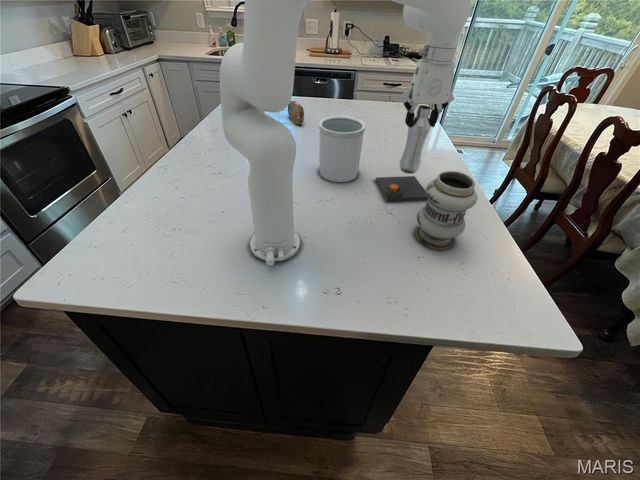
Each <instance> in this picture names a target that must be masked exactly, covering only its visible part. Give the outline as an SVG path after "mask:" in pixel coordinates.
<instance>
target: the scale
mask: <svg viewBox="0 0 640 480" xmlns="http://www.w3.org/2000/svg"><path fill="white" fill-rule="evenodd" d="M374 181H375V183H376V184H377V187H378V189H379V192H380V193H381V194H382V196H383V198H384V200H385V202H386V203H393V202H394V203H395V202H417V201H418V202H419V201H427V200H428V197H427V195H426V189H425V188H424V187H423V185H422V184H421V183H420V182H419V180H418V179H417V178H416V176H415V175H410V176H409V175H408V176H381V177H380V176H379V177H375V180H374ZM391 184H396V185H398V191H397V192H391V191H389V189H390V185H391Z"/></svg>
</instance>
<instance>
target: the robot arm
mask: <svg viewBox="0 0 640 480" xmlns="http://www.w3.org/2000/svg"><path fill="white" fill-rule="evenodd" d="M309 1H310V0H244V8H243V33H242V34H243V38H242V40H243V41H242V42H238V43H235V44H233V45H231V46H230V47H229V48H228V49H227V50H226V51H225V53H224V54H223V57H222V59H221V63H220V67H219V92H220V93H219V94H220V95H219V96H220V108H221V109H220V110H221V122H222V131H223V134H224V137H225V139H226V141H227V142H228V144H229V145H230V146H231V147H232V148H233V149H234V150H235V151H237V152H238V153H239V154H240V155H242V157H244V159H246V160H247V161H248V164H249V173H248V177H247V188H248V196H249V201H250V208H251V215H252V220H253V221H252V223H253V229H254V234H253V235H252V236H251V238H250V241H249V246H250V247H249V248H250V251H251V253H252V255H254V256H255V257H256V258H258V259H260V260H263V261H265V264H266V266H269V267H272V266H274V265H275V262H282V261H285V260H288V259H290V258H291V257H293V256H294V255H296V254H297V253H298V251H299V250H300V246H301V237H300V236H299V235H298V232H296V231H295V229H294V193H293V174H294V166H295V160H296V156H297V143H296V140H295V136H294V135H293V133H292V132H291V130H290V129H289V128H288V127H287V126H286V125H284V124H283V123H282V122H280V121H279V120H278V119H276V118H274V117H273V116H270V115H269V114H266V113H265V112H267V113H271V114H276V113H280V112H282V111H284V110H286V109H287V108H288V105H289V103H290V101H292V97H293V93H294V84H295V74H296V73H295V72H296V58H297V45H298V35H299V27H300V22H301V18H302V15H303V13H304V10H305V9H306V6H307V5H308V3H309ZM391 1H392V2H393V3H396V4H400V5H403V10H402V19H403V22H404V23H405V25H406V26H407V27H408V28H410V29H411V30H415V31H419V32H426V33H427V36H426V41H425V44H424V46H423V48H420V49H419V50H418V56H421V58H419V60H418V63H417V64H416V67H415V70H414V73H413V76H412V79H411V82H410V86H409V87H408V88H407V89H406V90H405V91H404V92H403V93H402V94H401V95H400V96H399V98H398V99H399V100H400V101H401V103H402V104H403V106H404V108H405V110H407V111H406V114H405V120H404V122H405V125H406V126H407V128H408V127H412V124H413V120H414V117H415V116H416V112H415V111H416V110H417V108H418V106H419V105H433V109H431V110H430V115H429V117H428V118H429V120H430V124H431V128H436V127H435V126H436V124H437V122H438V119H439V115H440V114H441V113H442V112H443V110H444V109H446V108H447V107H448V106H449V104H451V103H452V102H453V101H454V100H455V96H454V93H452V87H453V81H454V77H455V69H456V62H455V61H454V57H455V54H456V51H457V47H458V44H459V40H460V37H461V34H462V30H463V28H464V27H465V25H466V24H467V22H468V20H469V18H470V13H471V10H472V0H391ZM408 99H410V101H408Z"/></svg>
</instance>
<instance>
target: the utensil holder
mask: <svg viewBox="0 0 640 480" xmlns="http://www.w3.org/2000/svg"><path fill="white" fill-rule="evenodd" d="M318 130H319V147H318V148H319V149H318V151H319V154H318V155H319V157H318V159H319V161H318V162H319V164H318V166H319V167H318V168H319V175H320V176H321V177H322V178H323V179H325V180H326V181H329V182H333V183H347V182H350V181H353V180H355V179H356V178H357V176H358V173H359V167H360V161H361V155H362V148H363V142H364V141H363V138H364V132H365V131H366V124H365V122H364V121H363V120H361V119H359V118H357V117H354V116H349V115H330V116H327V117H326V116H325V117H323V118H322V119H320V120H319V122H318Z"/></svg>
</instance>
